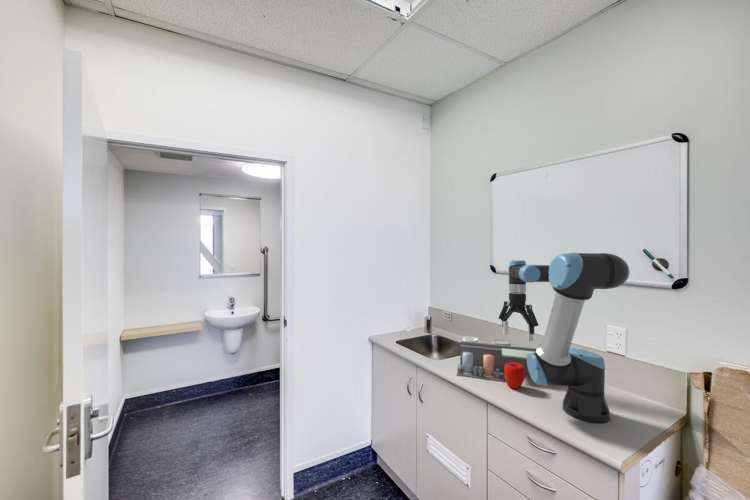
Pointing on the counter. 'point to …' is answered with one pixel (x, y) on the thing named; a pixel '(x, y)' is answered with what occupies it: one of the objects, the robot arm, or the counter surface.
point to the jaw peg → (488, 365)
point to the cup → (471, 339)
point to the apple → (514, 374)
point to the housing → (474, 359)
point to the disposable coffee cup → (501, 342)
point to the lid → (515, 353)
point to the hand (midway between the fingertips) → (517, 337)
